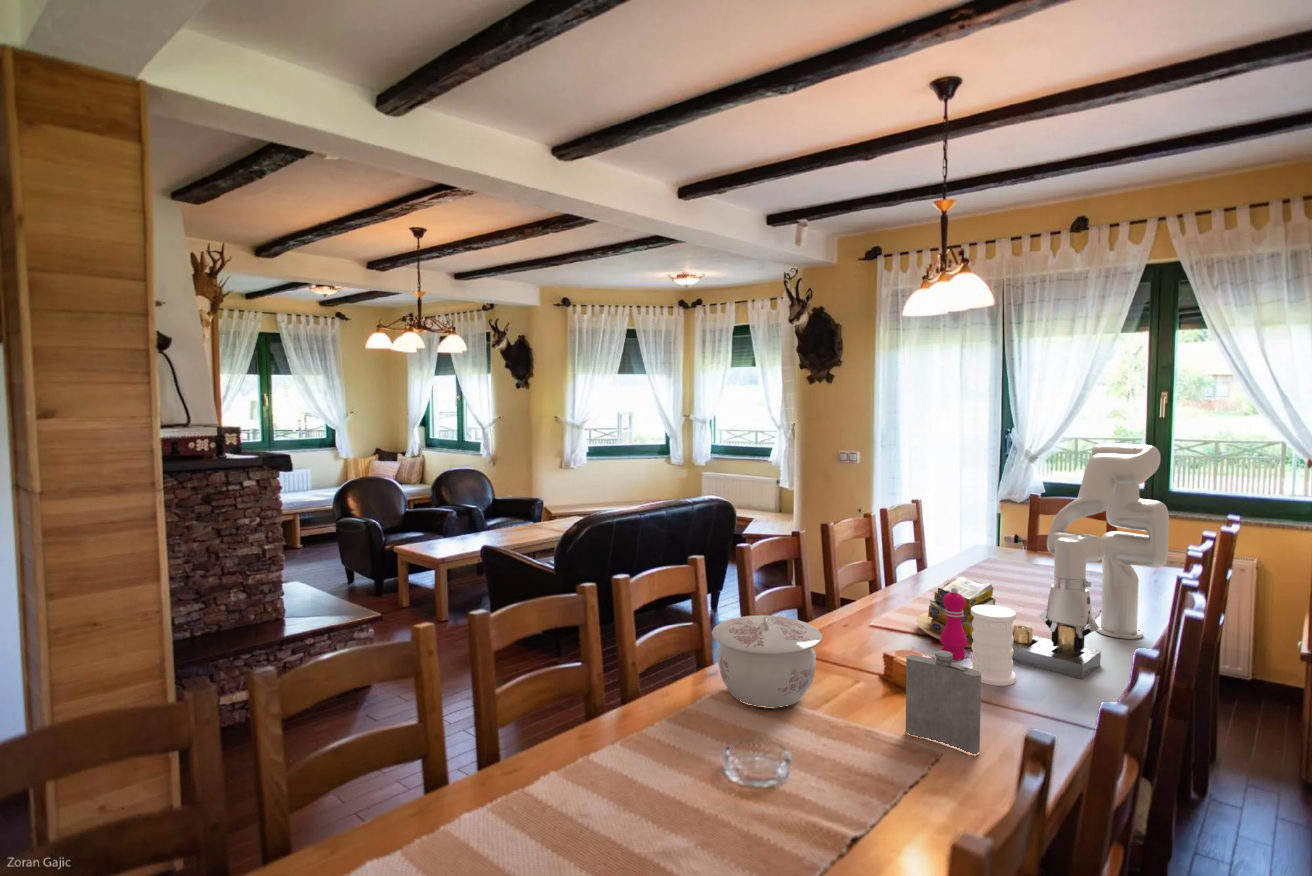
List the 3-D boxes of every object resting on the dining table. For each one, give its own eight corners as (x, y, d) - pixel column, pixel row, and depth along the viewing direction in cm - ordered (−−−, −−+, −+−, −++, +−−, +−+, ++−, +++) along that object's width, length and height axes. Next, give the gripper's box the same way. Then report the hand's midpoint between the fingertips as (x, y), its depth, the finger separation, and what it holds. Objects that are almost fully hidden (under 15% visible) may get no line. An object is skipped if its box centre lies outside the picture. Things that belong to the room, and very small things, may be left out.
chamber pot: (753, 732, 164) (752, 643, 162) (692, 688, 188) (691, 610, 186) (847, 705, 176) (847, 623, 175) (778, 667, 201) (778, 594, 199)
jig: (1010, 643, 217) (1011, 617, 216) (1100, 665, 199) (1101, 637, 198) (990, 655, 208) (990, 627, 207) (1082, 679, 190) (1083, 650, 189)
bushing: (1060, 649, 202) (1061, 621, 201) (1080, 654, 198) (1081, 625, 198) (1054, 653, 199) (1054, 625, 198) (1073, 658, 195) (1074, 629, 194)
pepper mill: (969, 661, 203) (970, 591, 202) (942, 659, 205) (943, 590, 203) (964, 652, 210) (965, 584, 209) (937, 650, 212) (938, 583, 210)
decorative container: (969, 682, 189) (970, 615, 188) (966, 666, 200) (968, 602, 199) (1018, 688, 185) (1020, 619, 184) (1013, 671, 196) (1014, 606, 195)
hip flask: (903, 733, 162) (904, 647, 161) (910, 727, 165) (911, 642, 164) (976, 758, 151) (978, 665, 150) (983, 750, 154) (984, 659, 153)
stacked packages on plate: (1021, 640, 219) (1022, 586, 218) (961, 654, 209) (962, 597, 208) (957, 617, 242) (958, 568, 240) (900, 628, 231) (900, 577, 230)
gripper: (1109, 586, 193) (1107, 652, 194) (1041, 574, 206) (1040, 637, 207) (1099, 592, 188) (1097, 660, 189) (1031, 579, 201) (1029, 643, 202)
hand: (1067, 647), depth 198 cm, fingers closed on bushing, 5 cm apart
